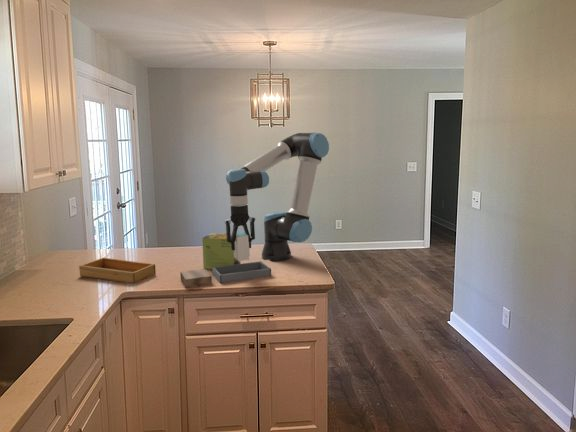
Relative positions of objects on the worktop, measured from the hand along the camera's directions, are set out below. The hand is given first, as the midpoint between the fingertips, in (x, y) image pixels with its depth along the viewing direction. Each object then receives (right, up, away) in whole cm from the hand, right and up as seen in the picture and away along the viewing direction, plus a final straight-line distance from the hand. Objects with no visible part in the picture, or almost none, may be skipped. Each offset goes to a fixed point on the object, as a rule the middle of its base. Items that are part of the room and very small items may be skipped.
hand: (241, 256), depth 215 cm
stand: (-19, -11, -6) cm, 23 cm away
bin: (0, -9, +1) cm, 9 cm away
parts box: (0, -1, 0) cm, 1 cm away
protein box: (-11, -7, +17) cm, 21 cm away
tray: (-57, -10, +7) cm, 59 cm away
